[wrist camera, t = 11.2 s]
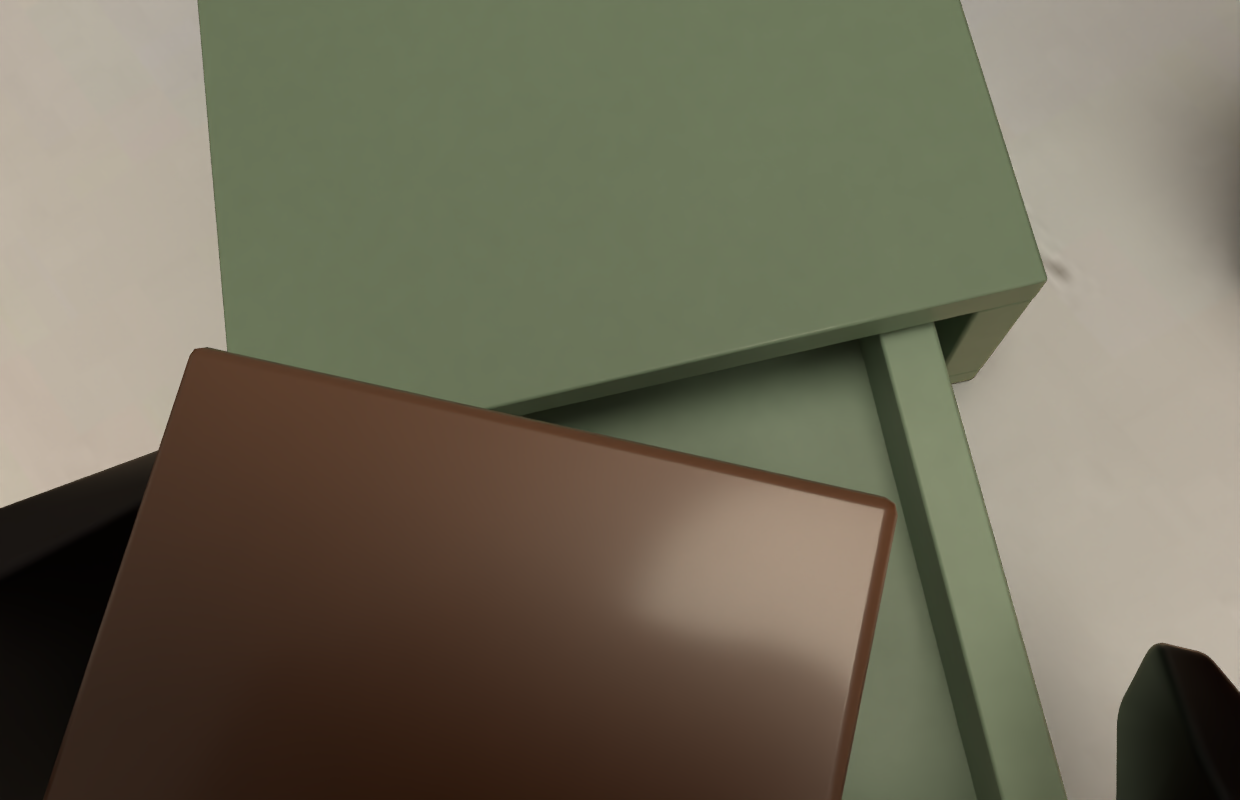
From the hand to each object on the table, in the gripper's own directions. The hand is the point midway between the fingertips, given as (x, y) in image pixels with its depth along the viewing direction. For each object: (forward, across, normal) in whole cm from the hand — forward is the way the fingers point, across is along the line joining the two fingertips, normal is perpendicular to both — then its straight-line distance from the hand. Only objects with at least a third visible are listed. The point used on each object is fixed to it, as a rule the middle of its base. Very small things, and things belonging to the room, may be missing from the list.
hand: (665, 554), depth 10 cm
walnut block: (+4, 0, +6) cm, 7 cm away
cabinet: (+14, +6, -2) cm, 15 cm away
